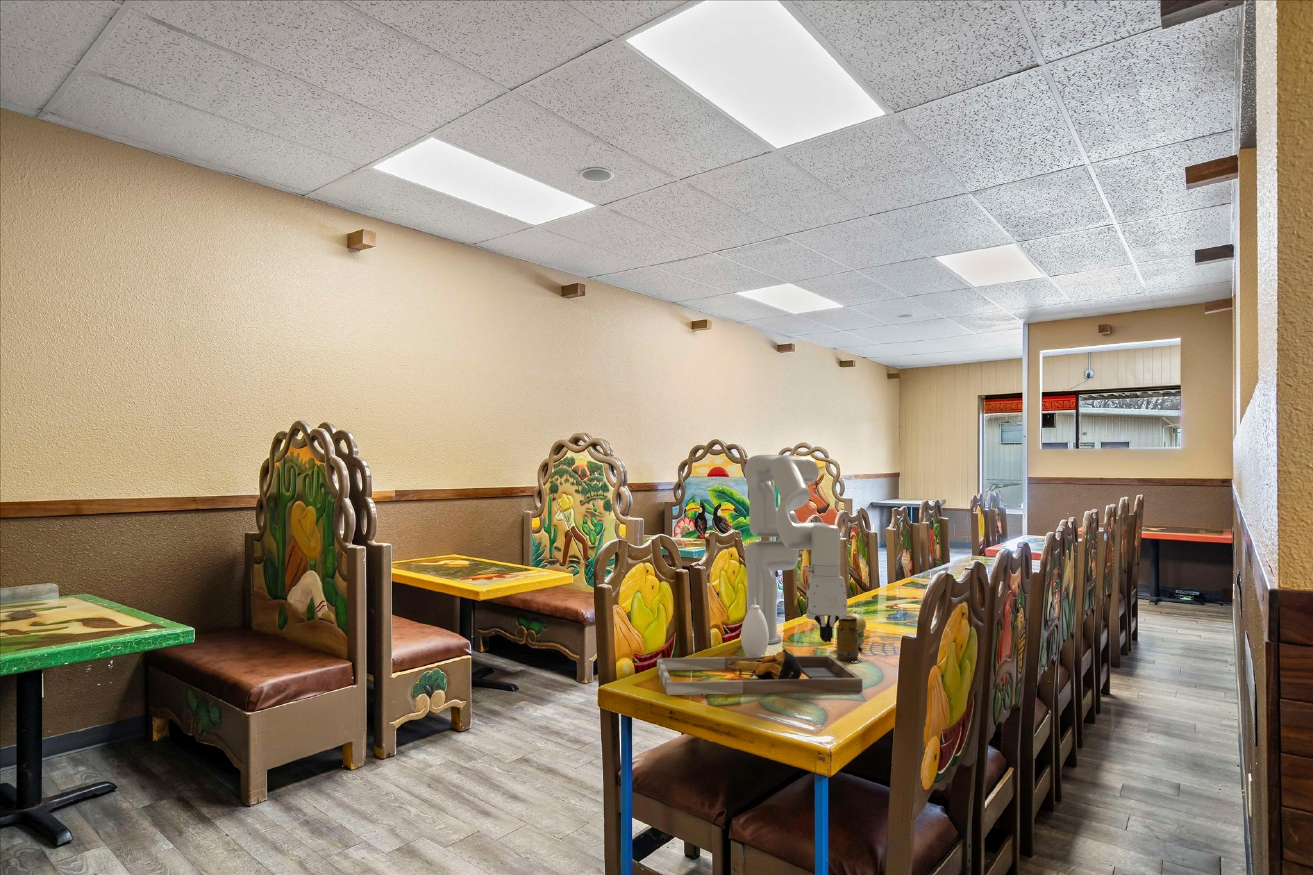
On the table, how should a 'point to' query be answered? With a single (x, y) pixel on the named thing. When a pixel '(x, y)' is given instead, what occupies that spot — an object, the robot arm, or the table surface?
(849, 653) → the condiment
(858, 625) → the pale rounded lump
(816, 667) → the tray box
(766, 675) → the leather work glove
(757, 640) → the white bulb syringe
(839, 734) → the table surface
